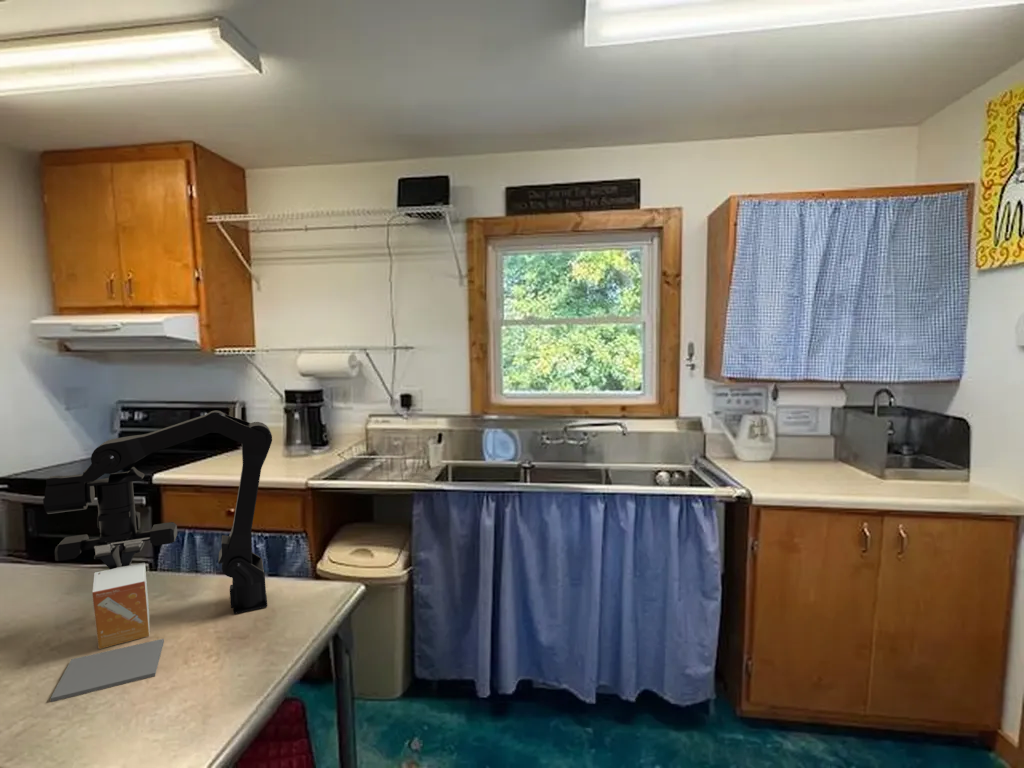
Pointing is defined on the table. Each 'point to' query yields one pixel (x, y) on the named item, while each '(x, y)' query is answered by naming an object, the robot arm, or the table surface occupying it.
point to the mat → (109, 669)
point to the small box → (121, 604)
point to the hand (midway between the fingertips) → (123, 582)
